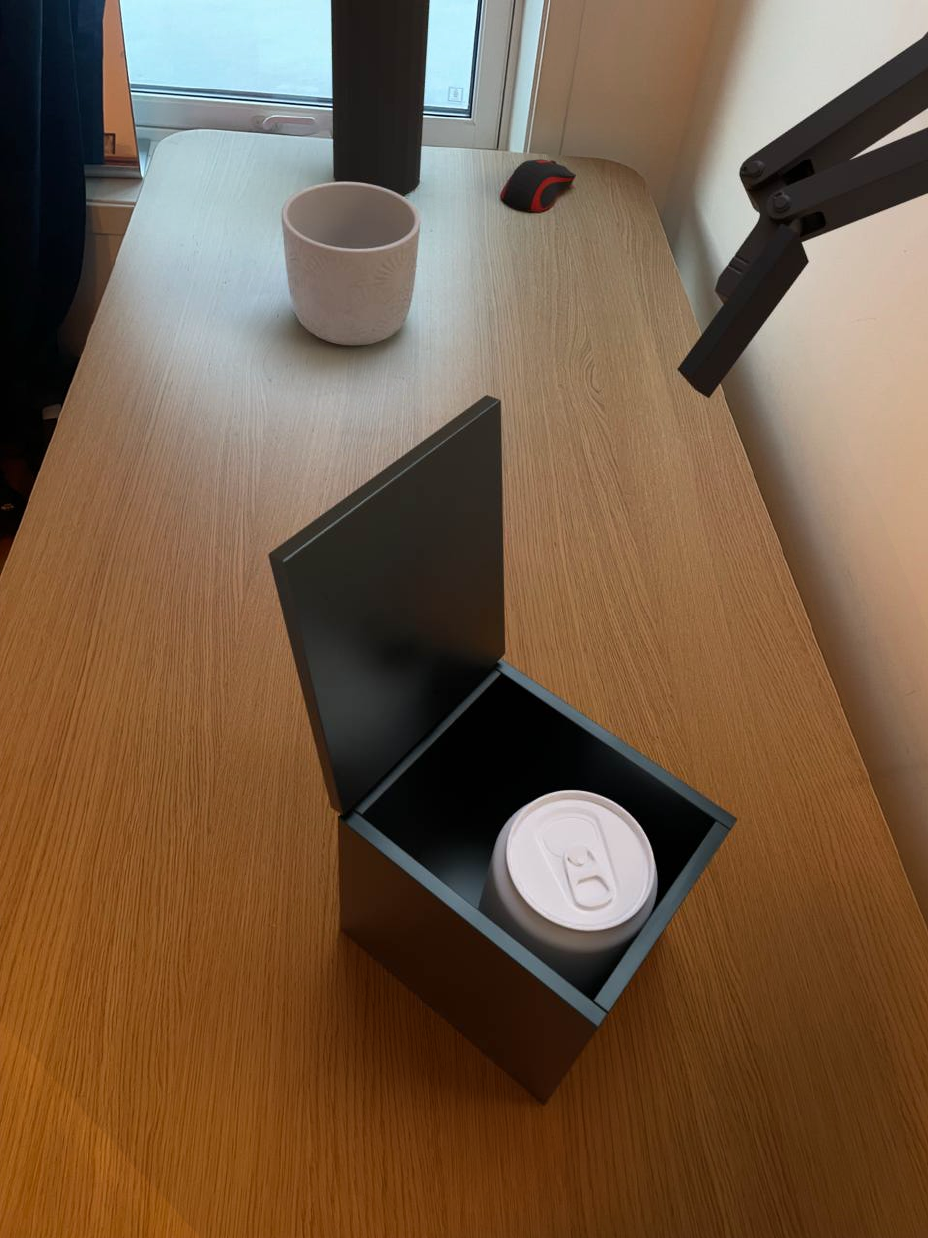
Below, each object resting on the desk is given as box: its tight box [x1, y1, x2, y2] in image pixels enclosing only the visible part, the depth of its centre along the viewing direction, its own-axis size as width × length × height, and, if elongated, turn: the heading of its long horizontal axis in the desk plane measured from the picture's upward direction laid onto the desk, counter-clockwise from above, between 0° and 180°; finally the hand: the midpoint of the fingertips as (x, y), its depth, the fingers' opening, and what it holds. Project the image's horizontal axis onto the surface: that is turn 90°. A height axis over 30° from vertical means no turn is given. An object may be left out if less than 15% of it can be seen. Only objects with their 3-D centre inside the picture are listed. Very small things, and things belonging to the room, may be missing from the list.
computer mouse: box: [499, 159, 577, 213], centre depth 111 cm, size 6×11×4 cm, turn 149°
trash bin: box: [337, 658, 738, 1107], centre depth 50 cm, size 15×13×14 cm
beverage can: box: [478, 790, 657, 1001], centre depth 49 cm, size 8×8×12 cm
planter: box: [280, 181, 421, 346], centre depth 88 cm, size 12×12×11 cm
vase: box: [330, 0, 431, 196], centre depth 100 cm, size 10×10×30 cm
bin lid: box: [267, 394, 506, 815], centre depth 41 cm, size 15×13×1 cm
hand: (832, 474), depth 35 cm, fingers open, 13 cm apart
